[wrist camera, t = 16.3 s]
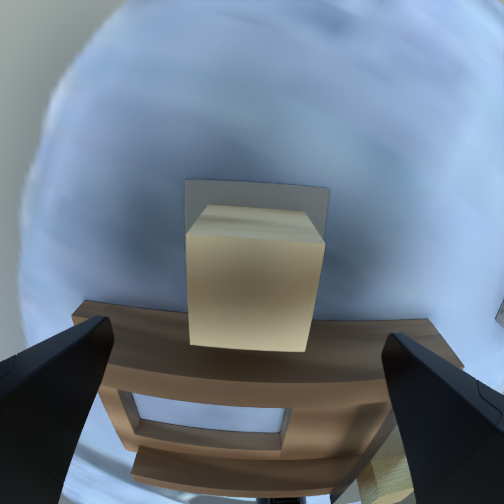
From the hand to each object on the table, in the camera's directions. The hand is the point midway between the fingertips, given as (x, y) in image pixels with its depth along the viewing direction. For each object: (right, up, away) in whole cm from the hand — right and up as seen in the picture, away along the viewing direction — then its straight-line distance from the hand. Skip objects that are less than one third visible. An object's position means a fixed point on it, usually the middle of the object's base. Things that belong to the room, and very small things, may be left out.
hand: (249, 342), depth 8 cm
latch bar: (+9, -12, +7) cm, 17 cm away
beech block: (0, +3, +7) cm, 8 cm away
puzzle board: (0, -9, +12) cm, 16 cm away
